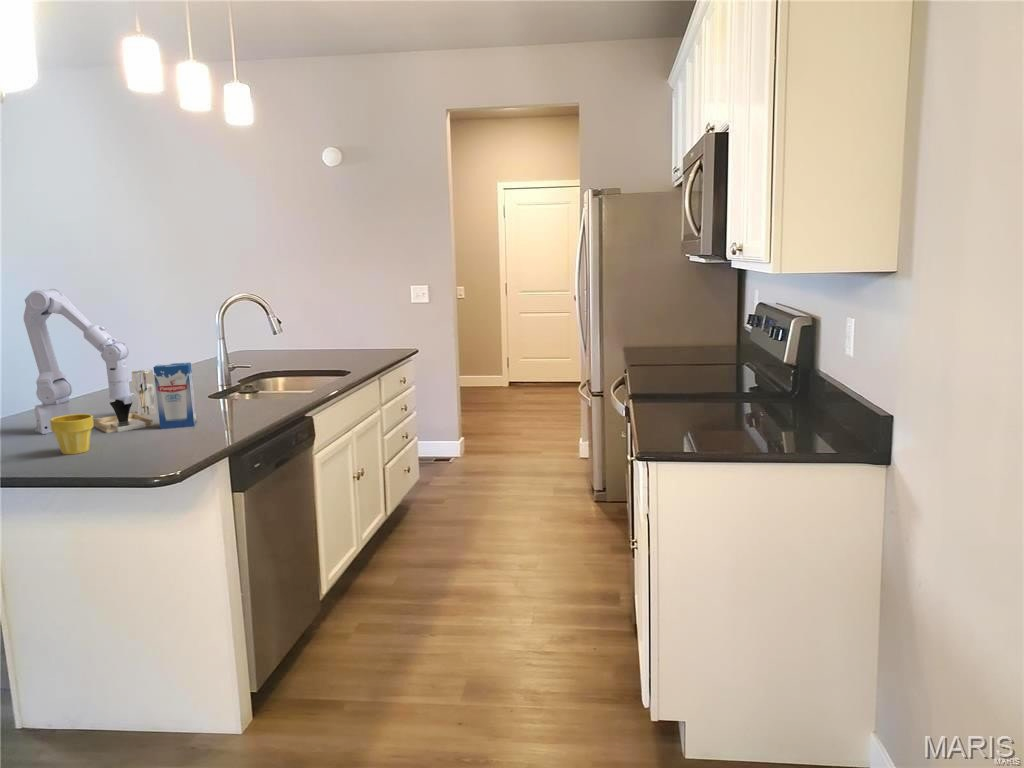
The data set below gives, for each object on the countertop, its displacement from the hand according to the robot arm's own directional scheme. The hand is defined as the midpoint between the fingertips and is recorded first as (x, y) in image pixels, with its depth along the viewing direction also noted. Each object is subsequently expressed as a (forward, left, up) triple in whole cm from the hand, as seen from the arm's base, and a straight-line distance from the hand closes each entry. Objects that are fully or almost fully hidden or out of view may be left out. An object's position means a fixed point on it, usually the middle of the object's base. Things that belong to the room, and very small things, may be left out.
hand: (123, 423), depth 239 cm
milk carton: (+12, -14, -2) cm, 18 cm away
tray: (0, +2, -1) cm, 3 cm away
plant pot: (-19, -21, -2) cm, 28 cm away
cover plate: (0, -4, -1) cm, 4 cm away
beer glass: (+12, +15, -2) cm, 19 cm away
